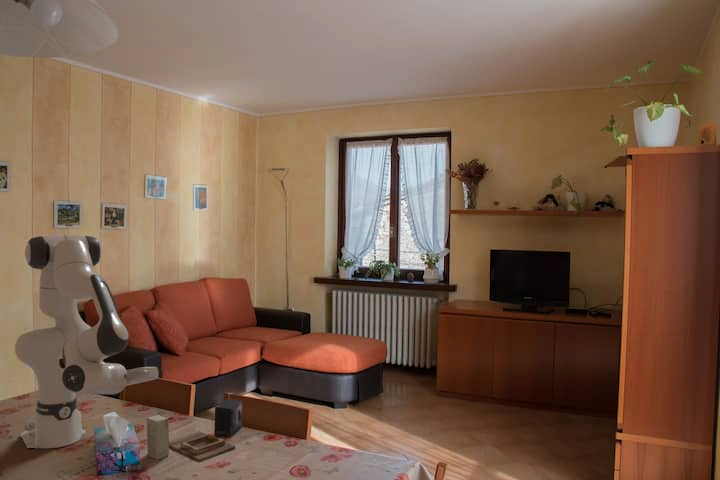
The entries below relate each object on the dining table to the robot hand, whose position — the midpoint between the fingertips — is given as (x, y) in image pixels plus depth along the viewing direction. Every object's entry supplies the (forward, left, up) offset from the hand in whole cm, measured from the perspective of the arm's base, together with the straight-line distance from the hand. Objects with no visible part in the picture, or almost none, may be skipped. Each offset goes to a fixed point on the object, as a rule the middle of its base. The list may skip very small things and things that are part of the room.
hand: (140, 379), depth 183 cm
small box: (+2, +33, -26) cm, 42 cm away
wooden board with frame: (+6, +18, -25) cm, 32 cm away
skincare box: (+2, +5, -26) cm, 26 cm away
